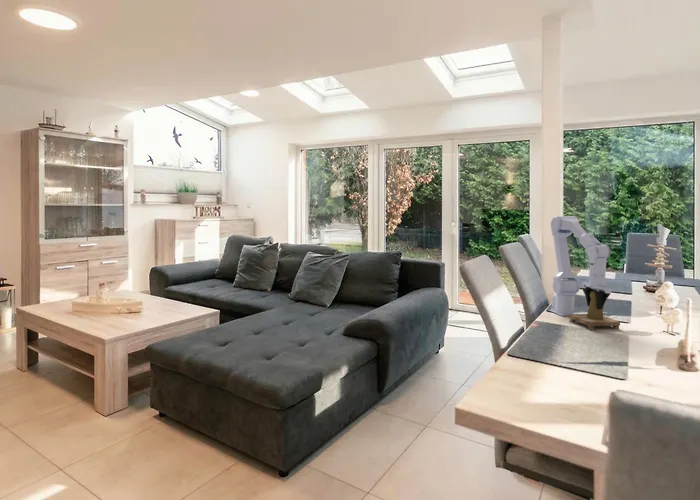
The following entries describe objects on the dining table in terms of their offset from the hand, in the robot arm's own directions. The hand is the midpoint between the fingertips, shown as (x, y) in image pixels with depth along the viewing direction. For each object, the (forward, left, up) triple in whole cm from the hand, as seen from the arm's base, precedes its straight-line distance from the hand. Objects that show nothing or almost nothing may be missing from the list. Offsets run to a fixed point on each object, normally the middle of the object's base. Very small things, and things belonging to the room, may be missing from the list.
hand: (594, 307), depth 182 cm
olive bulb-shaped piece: (0, 0, -4) cm, 5 cm away
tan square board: (0, 0, -7) cm, 7 cm away
